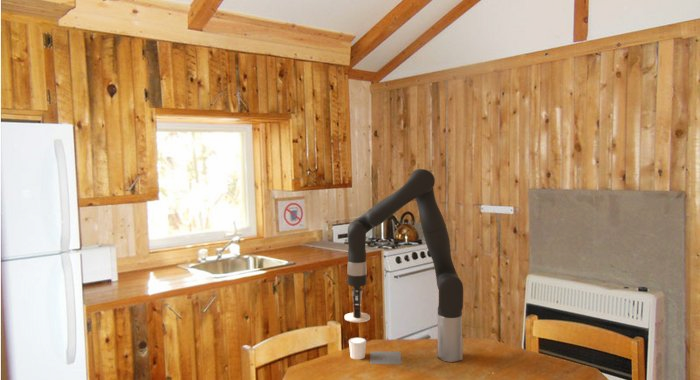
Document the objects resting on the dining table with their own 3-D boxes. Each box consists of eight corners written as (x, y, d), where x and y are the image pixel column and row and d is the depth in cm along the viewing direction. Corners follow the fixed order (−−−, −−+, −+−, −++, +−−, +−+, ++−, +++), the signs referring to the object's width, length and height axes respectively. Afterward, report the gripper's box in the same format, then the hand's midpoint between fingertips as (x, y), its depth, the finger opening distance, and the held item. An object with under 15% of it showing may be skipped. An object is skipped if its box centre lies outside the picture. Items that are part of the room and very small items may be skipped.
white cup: (366, 361, 195) (366, 343, 195) (348, 361, 195) (348, 343, 195) (366, 354, 202) (366, 337, 201) (349, 354, 202) (348, 337, 202)
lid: (370, 314, 202) (370, 301, 202) (369, 322, 192) (369, 309, 192) (345, 314, 203) (345, 301, 202) (343, 322, 193) (343, 308, 192)
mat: (400, 352, 203) (400, 351, 203) (402, 365, 191) (402, 364, 191) (370, 352, 203) (370, 351, 203) (370, 365, 191) (370, 363, 191)
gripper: (366, 277, 189) (366, 322, 190) (366, 268, 203) (367, 310, 204) (346, 277, 189) (346, 322, 191) (348, 268, 203) (348, 310, 205)
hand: (357, 315), depth 197 cm, fingers closed on lid, 3 cm apart
